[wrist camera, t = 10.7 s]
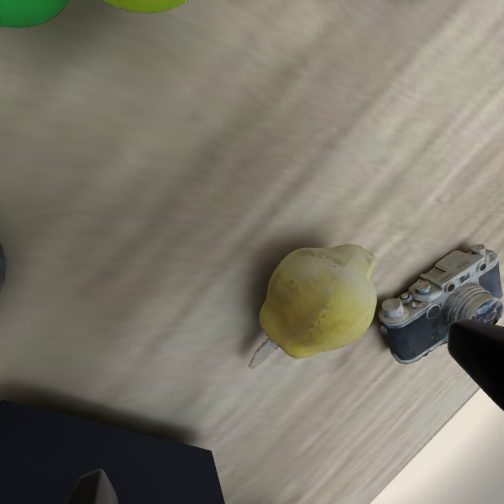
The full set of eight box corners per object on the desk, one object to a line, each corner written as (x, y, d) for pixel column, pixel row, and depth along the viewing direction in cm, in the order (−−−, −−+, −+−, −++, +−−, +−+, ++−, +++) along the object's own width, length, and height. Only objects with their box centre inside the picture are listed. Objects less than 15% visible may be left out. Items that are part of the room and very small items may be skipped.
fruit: (205, 341, 21) (295, 204, 18) (270, 346, 25) (353, 234, 22) (249, 425, 17) (373, 265, 14) (319, 415, 21) (426, 288, 18)
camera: (364, 306, 24) (407, 338, 20) (476, 233, 25) (536, 251, 22) (382, 354, 26) (423, 391, 23) (484, 284, 28) (539, 309, 24)
